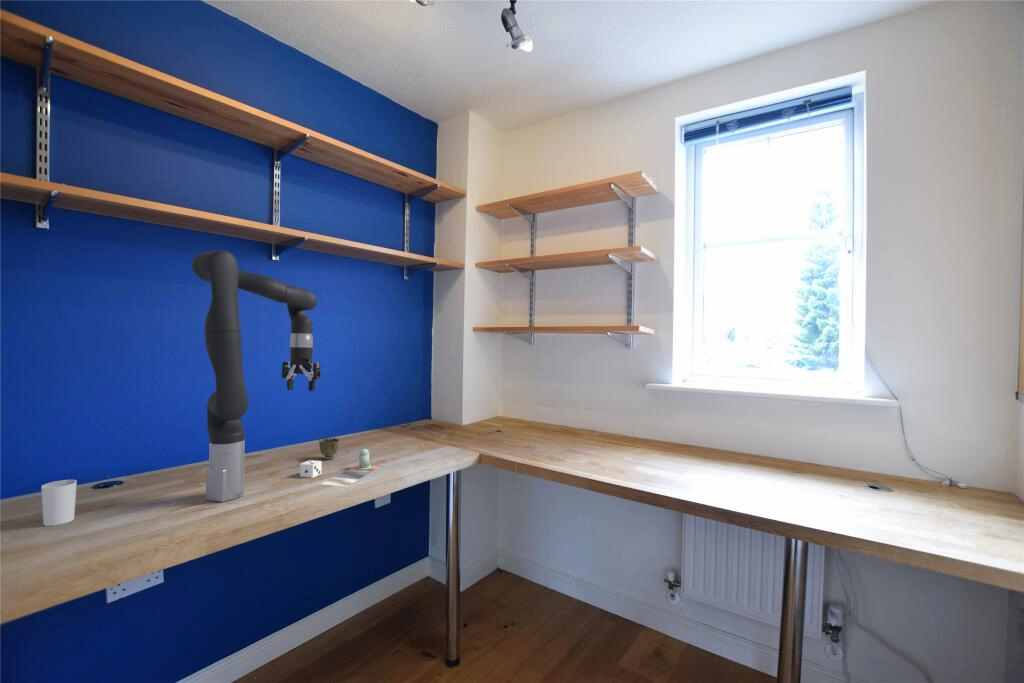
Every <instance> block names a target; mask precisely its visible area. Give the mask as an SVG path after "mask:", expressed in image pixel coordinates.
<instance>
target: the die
mask: <svg viewBox="0 0 1024 683" xmlns="http://www.w3.org/2000/svg"><path fill="white" fill-rule="evenodd" d="M322 463H323V462H322V460H313V459H309V460H307V461H303V462H302V463H300V464H299V477H300V478H312V479H313V478H315V477H318V476H319V475H322V468H323V467H322V465H323V464H322Z"/></svg>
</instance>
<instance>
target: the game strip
mask: <svg viewBox="0 0 1024 683" xmlns="http://www.w3.org/2000/svg"><path fill="white" fill-rule="evenodd" d="M357 466H359V463H357V464H356V465H355V466H353V467H351V468H349V469H347V470H345V471H343V472H341V473H339V474H337V475H335V476H333V477H332V478H330V479H327V480H326V481H323V482H321V485H325V486H334V487H345V488H347V487H349V486H350V485H352V484H353V483H355V482H357V481H359V480H361V479H362V478H364V477H365V476H367V475H369V474H370V473H373V472H374V471H376V470H377V469H380V468H381V467H383V468H385V467H384V466H383V465H381V466H380V465H374V464H373V465H371V469H369V470H357Z"/></svg>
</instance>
